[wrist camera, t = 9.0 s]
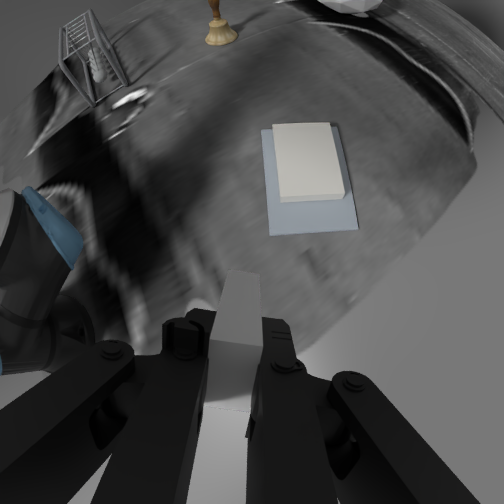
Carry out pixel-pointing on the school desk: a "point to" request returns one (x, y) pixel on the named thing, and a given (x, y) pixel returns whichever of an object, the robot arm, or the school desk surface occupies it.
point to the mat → (306, 212)
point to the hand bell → (219, 28)
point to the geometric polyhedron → (351, 5)
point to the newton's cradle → (91, 58)
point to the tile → (307, 162)
